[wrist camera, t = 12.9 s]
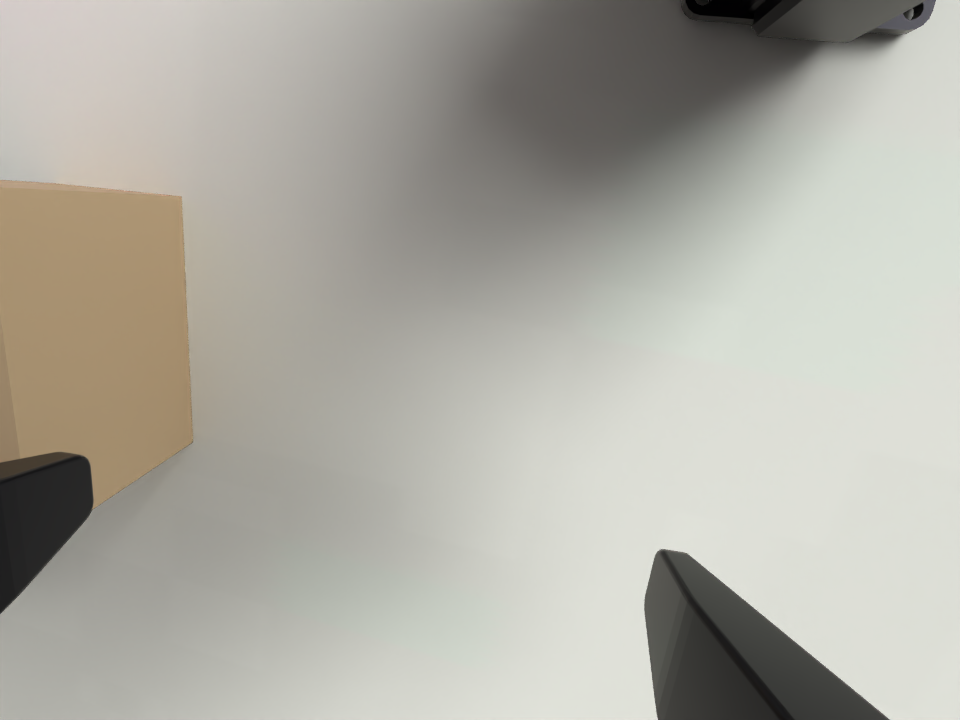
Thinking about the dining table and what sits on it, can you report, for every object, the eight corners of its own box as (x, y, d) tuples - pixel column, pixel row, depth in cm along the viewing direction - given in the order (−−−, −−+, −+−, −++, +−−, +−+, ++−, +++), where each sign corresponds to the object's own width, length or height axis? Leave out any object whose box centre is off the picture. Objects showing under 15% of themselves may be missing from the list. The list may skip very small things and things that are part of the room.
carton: (183, 196, 18) (-17, 185, 12) (194, 441, 21) (32, 549, 14) (49, 182, 19) (-221, 165, 12) (75, 425, 21) (-139, 523, 14)
